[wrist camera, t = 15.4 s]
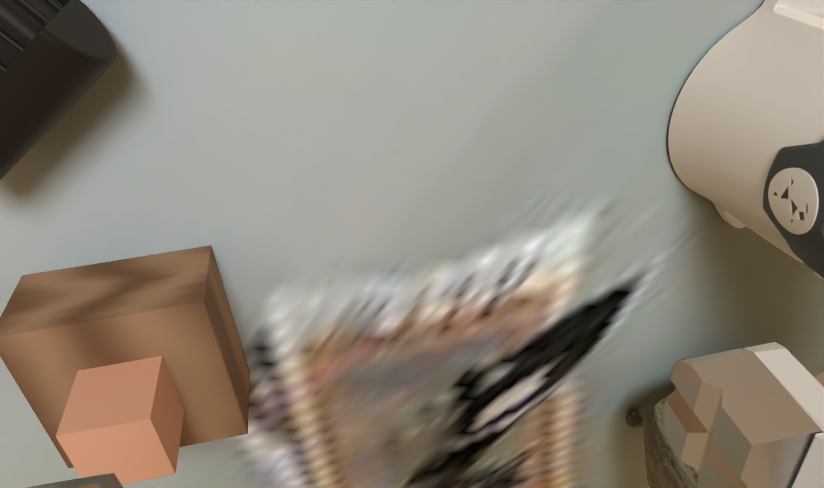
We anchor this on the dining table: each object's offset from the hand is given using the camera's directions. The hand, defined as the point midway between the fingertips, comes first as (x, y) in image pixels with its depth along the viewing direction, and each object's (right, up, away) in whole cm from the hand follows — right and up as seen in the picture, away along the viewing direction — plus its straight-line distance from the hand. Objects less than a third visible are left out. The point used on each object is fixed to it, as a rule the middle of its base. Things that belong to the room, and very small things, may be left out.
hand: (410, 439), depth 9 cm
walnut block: (-19, -3, +36) cm, 41 cm away
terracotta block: (-18, -6, +31) cm, 36 cm away
